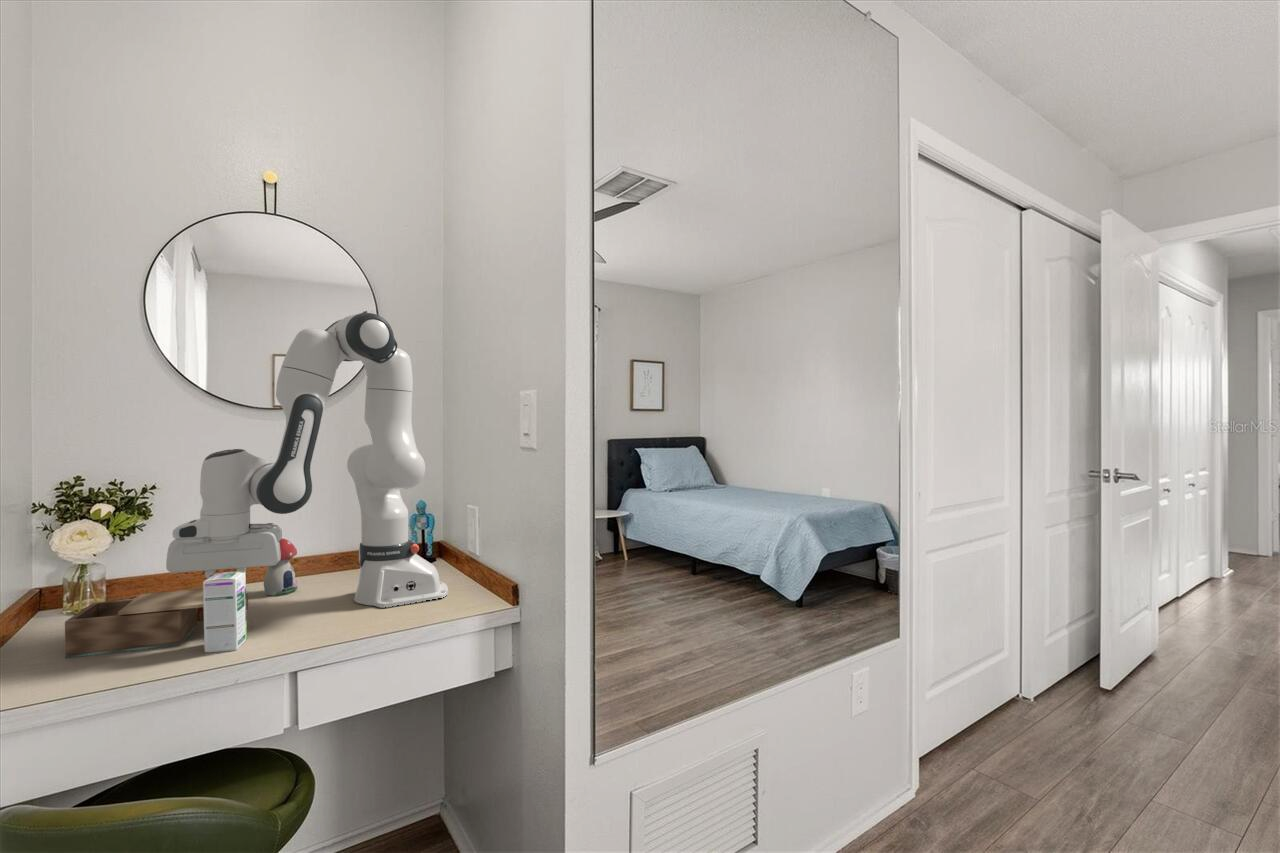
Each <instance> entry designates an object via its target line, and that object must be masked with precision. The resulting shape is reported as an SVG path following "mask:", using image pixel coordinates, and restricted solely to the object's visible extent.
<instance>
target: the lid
mask: <svg viewBox="0 0 1280 853" xmlns="http://www.w3.org/2000/svg"><path fill="white" fill-rule="evenodd" d="M133 599H134V600H133V601H132V602H130V603H129V604H128V605H126V606H125V607H124V608H123V609H121V610H120V611H119V612H118V615H125V614H136V613H146V612H157V611H167V610H178V609H188V608H199V607H203V588H198V589H188V590H187V589H185V590H176V591H175V590H174V591H162V592H151V593H141V594H139V595H138V596H137V597H135V598H133Z"/></svg>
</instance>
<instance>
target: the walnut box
mask: <svg viewBox="0 0 1280 853" xmlns="http://www.w3.org/2000/svg"><path fill="white" fill-rule="evenodd" d="M134 599H135V598H130V599H118V600H116V599H115V600H106V601H97V602H96V601H94V602H92V603H90V604H89V605H88V606H86V607H85V608H83V609H82V610H80V611H79V612H77V613H76V614H74V615H73V616H71V617H70V618H68V619H67V620H65V621H64V646H65V648H64V650H65V652H64V654H65V655H64V656H65V659H69V657H71V658H78V656H79V657H86V655H88V656H95V654H97V655H104V654H113V653H122V652H130V651H140V650H147V649H149V648H150V649H156V648H157V649H158V648H165V647H173V646H174V647H175V645H176V646H181V645H182V644H183V643H184V642H185V641H186V639H188V637H189V636H190V635H191V633H192V632H193V631H195V629H196V628H197V627H198V625H199V621H198V608H188V609H178V610H167V611H157V612H146V613H136V614H125V615H118V612H119V611H120V610H121V609H123V608H124V607H125V606H126V605H128V604H129V603H130V602H132V601H133V600H134ZM150 649H149V650H150Z"/></svg>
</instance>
